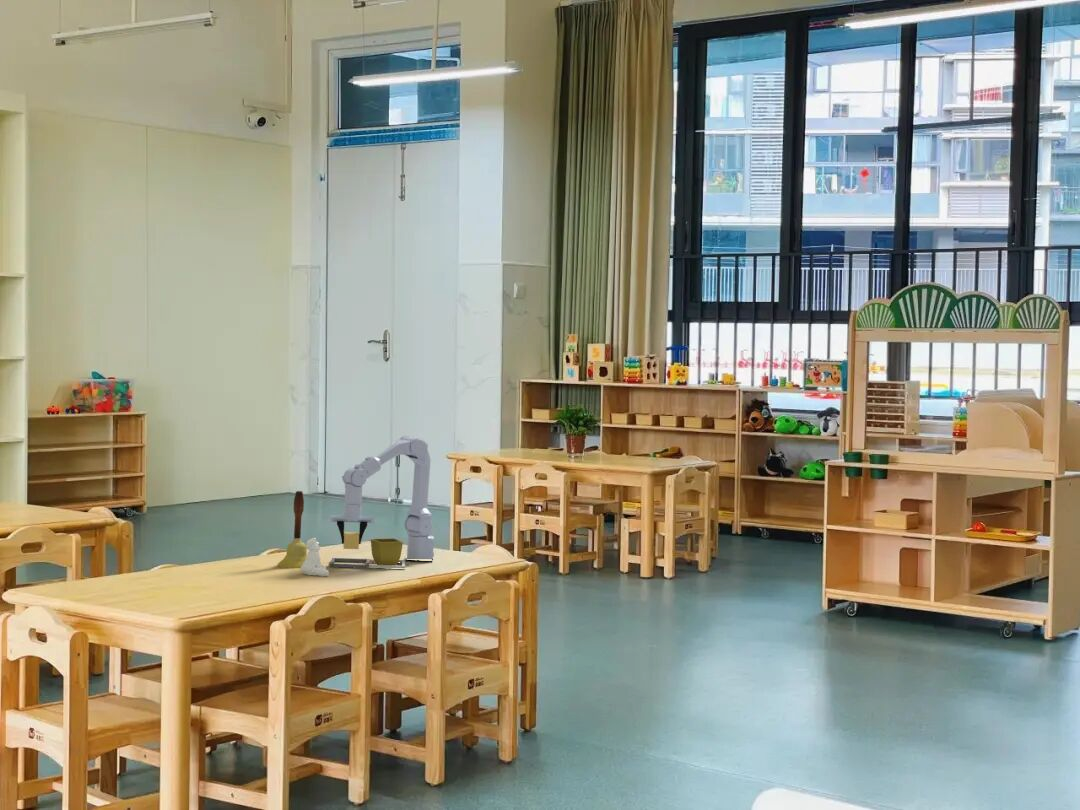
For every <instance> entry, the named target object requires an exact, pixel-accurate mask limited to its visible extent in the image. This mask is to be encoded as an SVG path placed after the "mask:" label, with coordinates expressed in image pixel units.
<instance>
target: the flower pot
mask: <svg viewBox="0 0 1080 810" xmlns="http://www.w3.org/2000/svg"><path fill="white" fill-rule="evenodd" d="M403 542H404V541H401V540H399V539H396V538H392V537H391V538H370V546H371V555H372V559H374V561H375V563H374V564H375V565H376V564H377V565H395V566H397V565H398V564H397V563H398V561H399V560H401V557H402V556H401V555H402V550H403V544H404V543H403Z"/></svg>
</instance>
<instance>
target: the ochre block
mask: <svg viewBox="0 0 1080 810" xmlns="http://www.w3.org/2000/svg"><path fill="white" fill-rule="evenodd" d="M359 546H360V544H359V532H355V531H354V532H353V531H352V532H351V531H344V544H343V549H345V550H359Z"/></svg>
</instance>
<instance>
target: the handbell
mask: <svg viewBox="0 0 1080 810" xmlns="http://www.w3.org/2000/svg"><path fill="white" fill-rule="evenodd" d="M304 504H305V497H304V492H303V491H302V490H297V491H295V495H294V499H293V513H294V526H293V527H294V529H293V530H294V531H293V532H294V533H293V534H294V535H293V540H292V541H291V542H289V543H288V544H287V546H286V554H285V556H284V557H283V559H281V560H280V561H279V562H278V563H277V566H278V567H281V568H285V569H301V566H302V564H303V562H304V561H305V560H306V557H307V554H308V552H307V551H308V548H307V545H306V543H305V542H303V541H302V538H301V533H302V531H301V530H302V515H303V512H304V507H305V505H304Z"/></svg>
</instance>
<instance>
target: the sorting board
mask: <svg viewBox="0 0 1080 810" xmlns="http://www.w3.org/2000/svg"><path fill="white" fill-rule="evenodd" d="M335 561H341V562H340V563H336V562H335ZM355 562H367V563H360V564H358V563H355ZM370 562H375V561H374V559H373V558H354V557H353V558H351V557H349V558H347V557H345V558H344V557H331V559H330V563H329V568H332V567H355V568H354V569H363V568H405V569H406V565H405V564H406V559H405V560H404V559H399V561H398V562H400V563H402V564H401V565H396V566H395V565H376V564H371V563H370ZM369 564H370V565H369Z"/></svg>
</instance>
